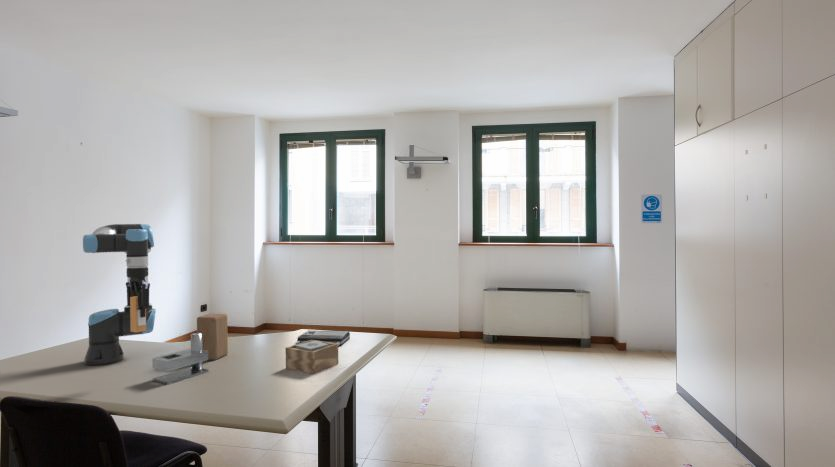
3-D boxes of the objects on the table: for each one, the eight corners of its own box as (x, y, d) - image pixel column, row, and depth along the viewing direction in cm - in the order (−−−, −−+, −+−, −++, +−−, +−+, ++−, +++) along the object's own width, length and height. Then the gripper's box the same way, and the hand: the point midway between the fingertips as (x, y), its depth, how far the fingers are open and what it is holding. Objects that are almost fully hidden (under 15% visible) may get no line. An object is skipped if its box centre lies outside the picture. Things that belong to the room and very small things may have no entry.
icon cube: (296, 368, 197) (295, 345, 197) (314, 362, 205) (314, 340, 205) (310, 372, 191) (310, 348, 191) (329, 366, 199) (328, 344, 199)
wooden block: (215, 360, 209) (214, 317, 209) (196, 359, 211) (195, 317, 211) (228, 354, 219) (228, 313, 219) (210, 353, 221) (209, 313, 221)
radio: (349, 329, 249) (339, 338, 229) (350, 339, 249) (339, 348, 229) (307, 328, 252) (293, 337, 233) (307, 338, 252) (293, 347, 233)
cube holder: (285, 368, 197) (285, 347, 197) (311, 358, 211) (311, 339, 210) (313, 373, 189) (313, 352, 189) (338, 363, 203) (338, 343, 202)
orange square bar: (130, 331, 183) (130, 297, 183) (140, 329, 186) (140, 295, 186) (136, 332, 181) (135, 297, 181) (146, 330, 184) (145, 296, 184)
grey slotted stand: (152, 380, 183) (152, 340, 182) (194, 368, 198) (193, 331, 198) (167, 384, 178) (166, 343, 177) (208, 371, 193) (208, 334, 193)
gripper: (116, 267, 184) (117, 324, 185) (139, 268, 176) (140, 328, 176) (135, 265, 191) (136, 320, 191) (158, 267, 182) (159, 324, 183)
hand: (138, 324), depth 184 cm, fingers closed on orange square bar, 4 cm apart
